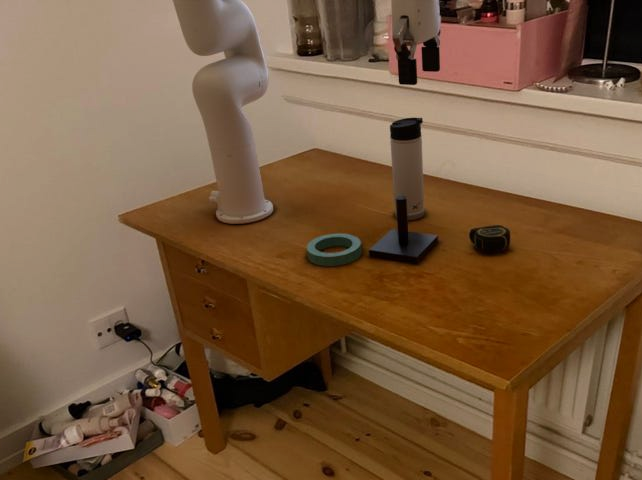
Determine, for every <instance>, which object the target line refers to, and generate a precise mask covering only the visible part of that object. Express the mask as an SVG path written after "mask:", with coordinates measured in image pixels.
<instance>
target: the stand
mask: <svg viewBox="0 0 642 480" xmlns="http://www.w3.org/2000/svg"><path fill="white" fill-rule="evenodd" d="M396 211H397V217H396V224H397V229H390V230H389V231H388V232H387V233H386V234H385V235H383V236H382V238H380V239H379V240H378V241H377V242H376V243H374V245H372V246H371V247H370V248H369V249H368V255H369V256H368V257H369V258H374V259H379V260H386V261H387V260H388V261H393V262H399V263H406V264H412V265H418V264H419V263H420V262H421V261H422V260H423V259H424V258H425V257H426V256H427V255H428V254H429V253H430V252H431V250H433V248H435V246H437V245H438V243H439V235H437V234H436V235H435V234H429V233H428V234H427V233H422V232H413V231H409V220H408V215H407V197H406V196H398V197H396Z"/></svg>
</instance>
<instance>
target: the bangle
mask: <svg viewBox="0 0 642 480" xmlns="http://www.w3.org/2000/svg"><path fill="white" fill-rule="evenodd" d="M331 247H332V248H333V247H344V248H347V249H344V250H341V251H337V252H323V251H322V250H324V249H325V250H326V249H327V248H331ZM362 248H363V246H362V241H361V239H360V238H359V237H357V236H355V235H353V234H350V233H349V234H348V233H341V232H340V233H329V234H324V235H321V236H317V237H315V238H313V239H311V240H310V241H309V242H308V243H307V245H306V256H307V259H308V260H309V262H310V263H312V264H314V265H316V266H322V267H338V266H339V267H340V266H342V265H343V266H344V265H347V264H350V263H352V262H354V261H356V260H358V259H359V258H360V257H361V256H362V252H363V249H362Z"/></svg>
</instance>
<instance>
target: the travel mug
mask: <svg viewBox="0 0 642 480" xmlns="http://www.w3.org/2000/svg"><path fill="white" fill-rule="evenodd" d="M423 123H424V121H423V117H405V118H401V119H397V120H395V121H393V122H391V124H390V125H389V134H390V137H389V138H390V140H389V141H390V155H391V156H390V158H391V170H392V173H391V175H392V188H393V201H394V202H393V203H394V216H395V217H396V218H397V211H396V197H398V196H406V197H407V215H408V221H415V220H419V219H421V218H423V217H424V216H425V189H424V165H423V163H424V162H423V141H422V136H423V135H422V125H421V124H423Z"/></svg>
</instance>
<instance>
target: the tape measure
mask: <svg viewBox="0 0 642 480" xmlns="http://www.w3.org/2000/svg"><path fill="white" fill-rule="evenodd" d="M468 238H469V239H470V243H471V244H472V245H474V246H475V248H476V249H477V250H479V251H481V252H484V253H497V252H502V251H506V249H508V248H509V246H510V245H511V231H510V229H509V228H507V227H505V226H503V225H500V224H493V225H486V226H479V227H474V228H470V231H469V233H468Z"/></svg>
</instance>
